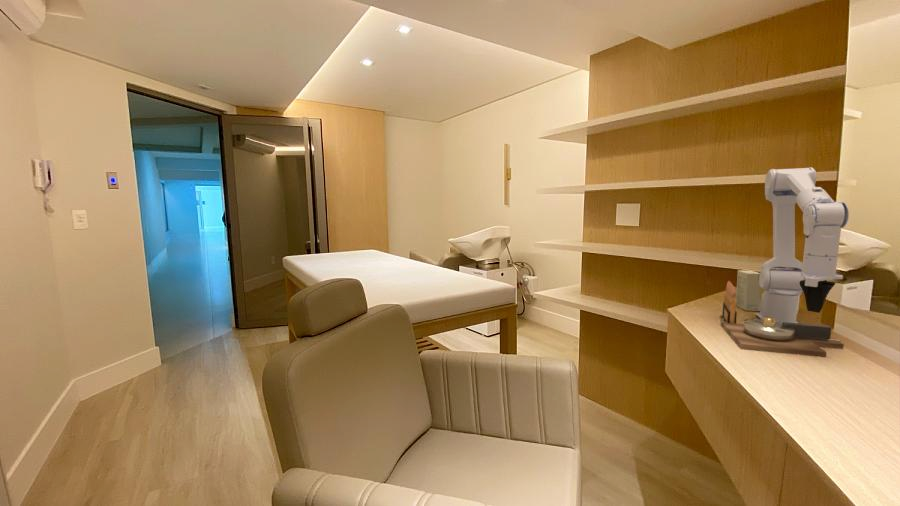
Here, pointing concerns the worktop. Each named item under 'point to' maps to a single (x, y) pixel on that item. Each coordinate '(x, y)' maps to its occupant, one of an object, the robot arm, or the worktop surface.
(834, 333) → the worktop surface
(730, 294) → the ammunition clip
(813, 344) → the walnut stand
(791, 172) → the robot arm
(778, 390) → the worktop surface
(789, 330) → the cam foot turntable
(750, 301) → the skincare box
